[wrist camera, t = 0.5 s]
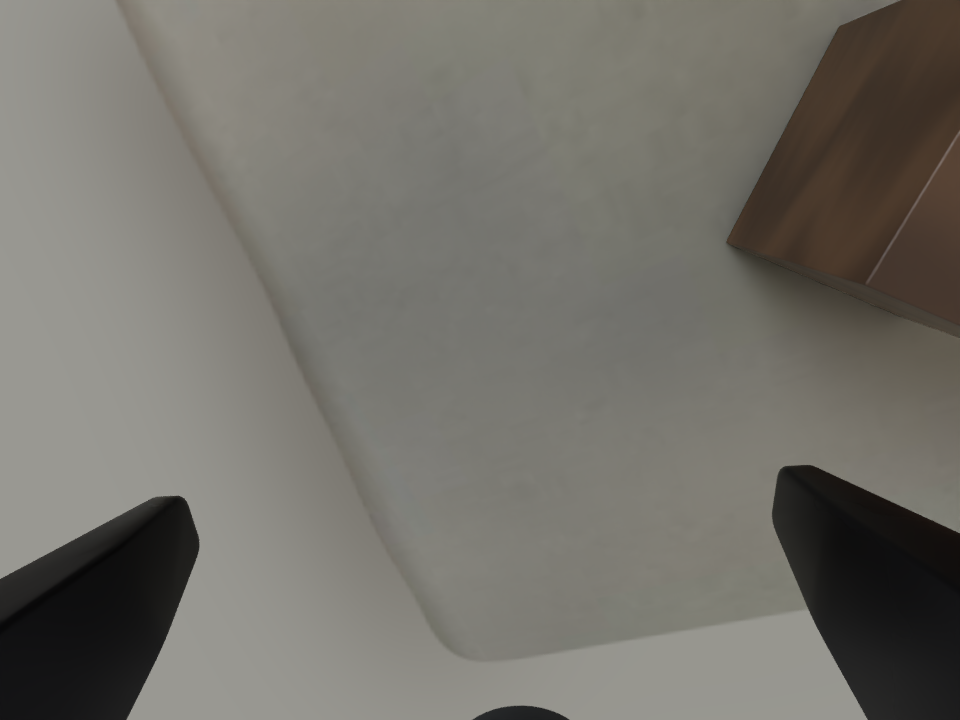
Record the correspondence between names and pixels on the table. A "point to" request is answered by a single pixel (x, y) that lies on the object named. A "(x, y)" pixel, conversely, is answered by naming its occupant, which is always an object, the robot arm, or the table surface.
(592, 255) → the table surface
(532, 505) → the table surface
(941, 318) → the walnut block
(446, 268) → the table surface
